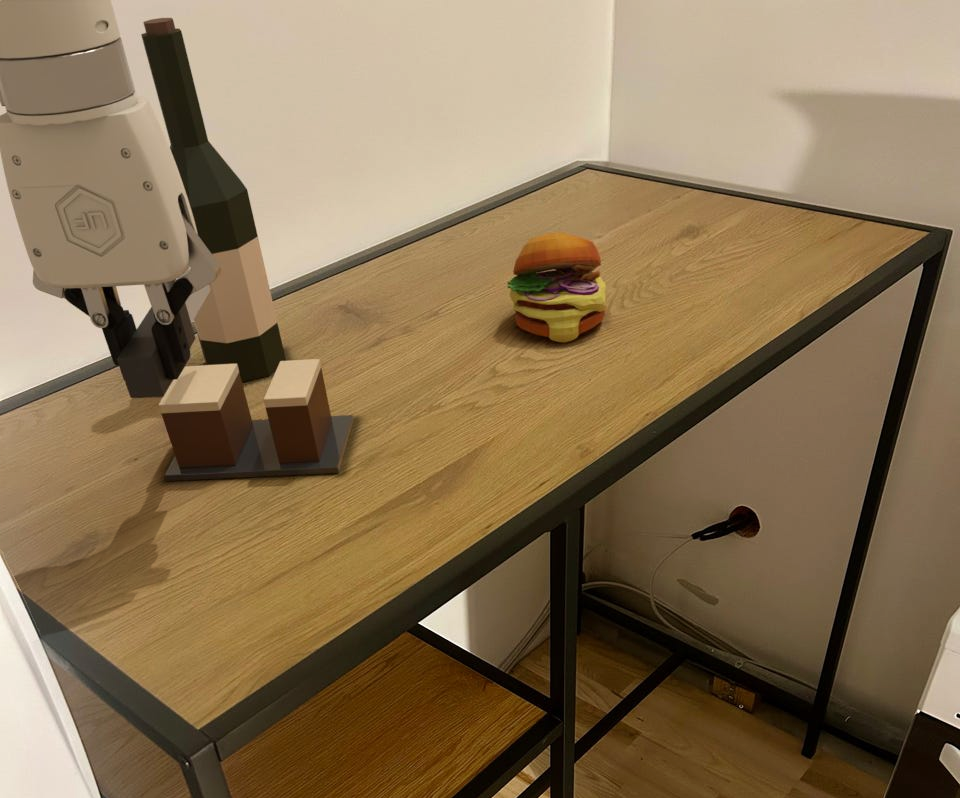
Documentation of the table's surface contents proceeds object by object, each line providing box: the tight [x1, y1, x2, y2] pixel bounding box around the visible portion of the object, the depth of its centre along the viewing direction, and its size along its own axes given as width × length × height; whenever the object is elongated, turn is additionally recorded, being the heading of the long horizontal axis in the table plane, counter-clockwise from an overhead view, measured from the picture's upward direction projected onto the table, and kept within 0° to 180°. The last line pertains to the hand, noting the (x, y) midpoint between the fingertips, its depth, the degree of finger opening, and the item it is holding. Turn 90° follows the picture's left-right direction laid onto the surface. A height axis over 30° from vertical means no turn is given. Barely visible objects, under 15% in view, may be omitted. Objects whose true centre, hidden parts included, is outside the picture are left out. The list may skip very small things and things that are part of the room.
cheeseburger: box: [506, 232, 607, 344], centre depth 97 cm, size 10×11×10 cm
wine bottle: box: [141, 17, 287, 383], centre depth 88 cm, size 8×8×30 cm
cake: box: [157, 364, 253, 468], centre depth 82 cm, size 5×7×6 cm
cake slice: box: [263, 358, 332, 463], centre depth 82 cm, size 4×7×6 cm, turn 178°
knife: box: [117, 268, 210, 399], centre depth 72 cm, size 18×2×3 cm, turn 178°
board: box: [164, 414, 355, 482], centre depth 84 cm, size 15×9×1 cm, turn 88°
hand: (156, 370), depth 68 cm, fingers closed on knife, 2 cm apart
